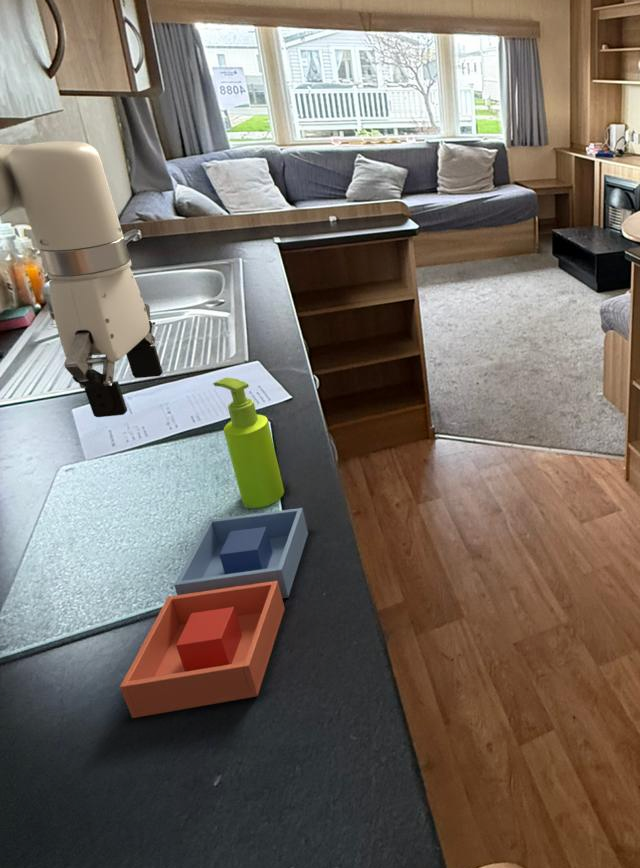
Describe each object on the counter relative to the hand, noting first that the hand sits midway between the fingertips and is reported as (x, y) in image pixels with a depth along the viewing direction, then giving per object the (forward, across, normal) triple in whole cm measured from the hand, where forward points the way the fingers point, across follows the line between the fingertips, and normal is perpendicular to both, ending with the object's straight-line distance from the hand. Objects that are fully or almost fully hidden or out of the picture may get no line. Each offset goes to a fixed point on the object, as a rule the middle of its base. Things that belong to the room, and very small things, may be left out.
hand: (131, 394), depth 78 cm
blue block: (+26, +3, +9) cm, 27 cm away
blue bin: (+26, +3, +9) cm, 28 cm away
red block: (+26, +17, +9) cm, 32 cm away
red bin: (+26, +17, +9) cm, 33 cm away
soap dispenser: (+26, -14, +6) cm, 31 cm away
